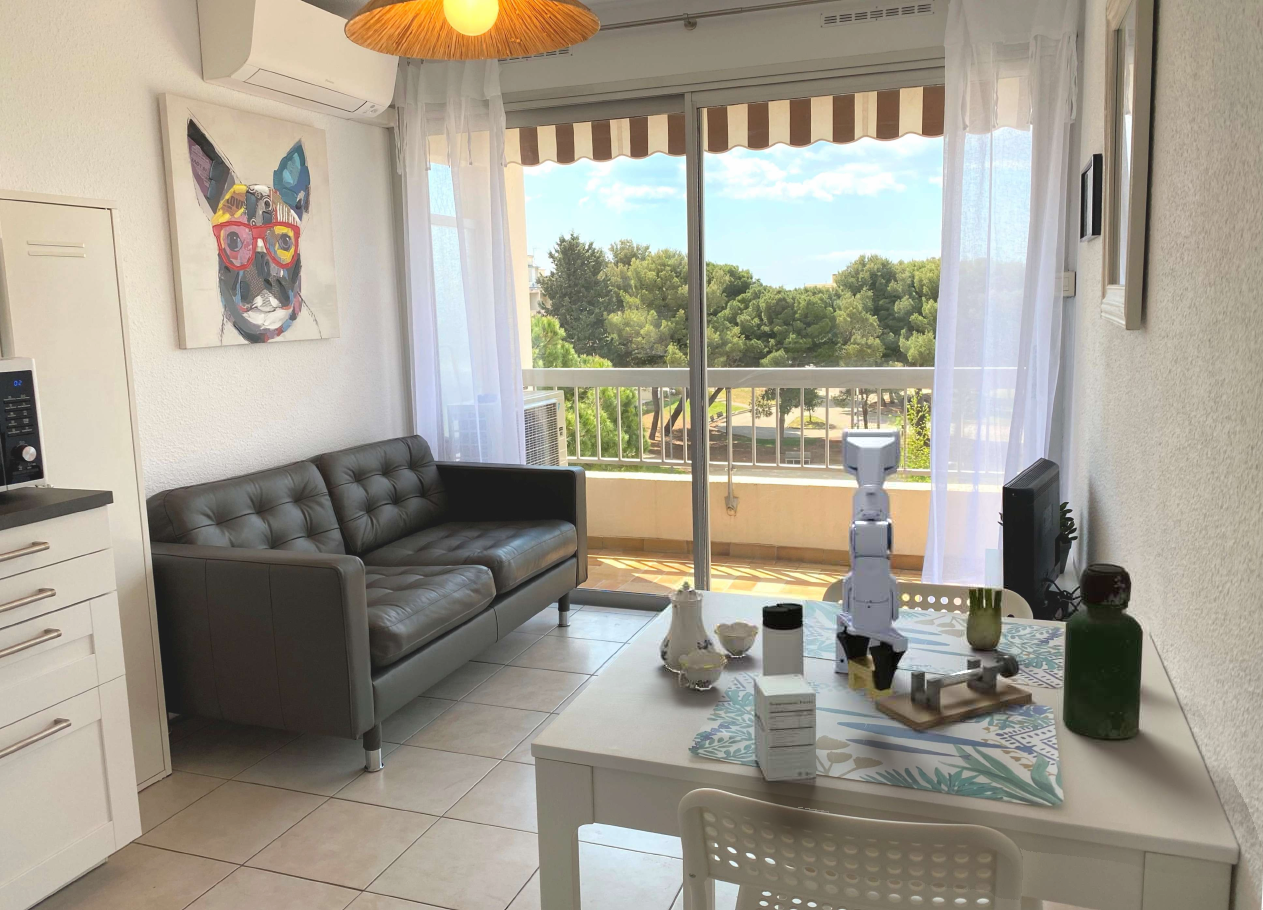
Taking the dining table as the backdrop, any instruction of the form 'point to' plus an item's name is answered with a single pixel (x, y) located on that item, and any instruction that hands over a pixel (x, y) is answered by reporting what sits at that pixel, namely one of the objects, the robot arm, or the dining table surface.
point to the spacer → (865, 678)
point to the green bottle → (1103, 657)
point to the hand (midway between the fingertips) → (870, 682)
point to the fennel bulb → (984, 619)
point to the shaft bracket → (951, 698)
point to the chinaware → (700, 640)
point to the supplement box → (785, 727)
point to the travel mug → (782, 639)
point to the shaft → (1005, 668)
